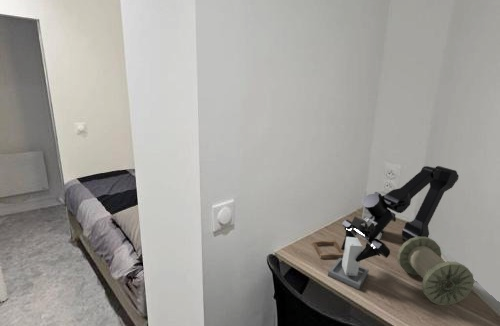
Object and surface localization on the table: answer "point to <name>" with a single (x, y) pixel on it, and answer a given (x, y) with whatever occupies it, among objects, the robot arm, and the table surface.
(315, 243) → the open wooden picture frame
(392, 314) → the table surface
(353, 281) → the cradle tray
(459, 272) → the spool
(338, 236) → the table surface
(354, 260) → the skincare box
